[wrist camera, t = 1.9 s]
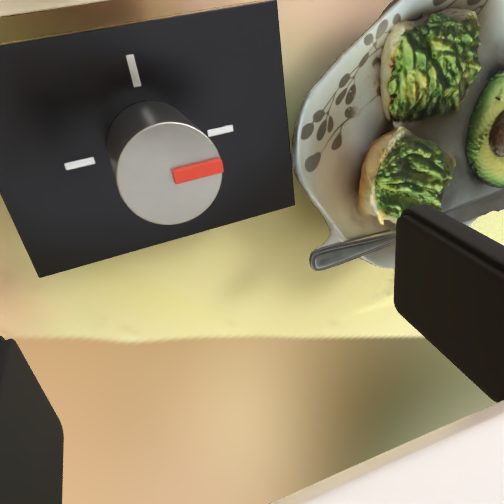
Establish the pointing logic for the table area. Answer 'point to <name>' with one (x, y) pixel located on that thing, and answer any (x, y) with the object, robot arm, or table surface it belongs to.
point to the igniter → (38, 5)
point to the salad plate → (405, 126)
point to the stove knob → (163, 163)
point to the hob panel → (119, 98)
